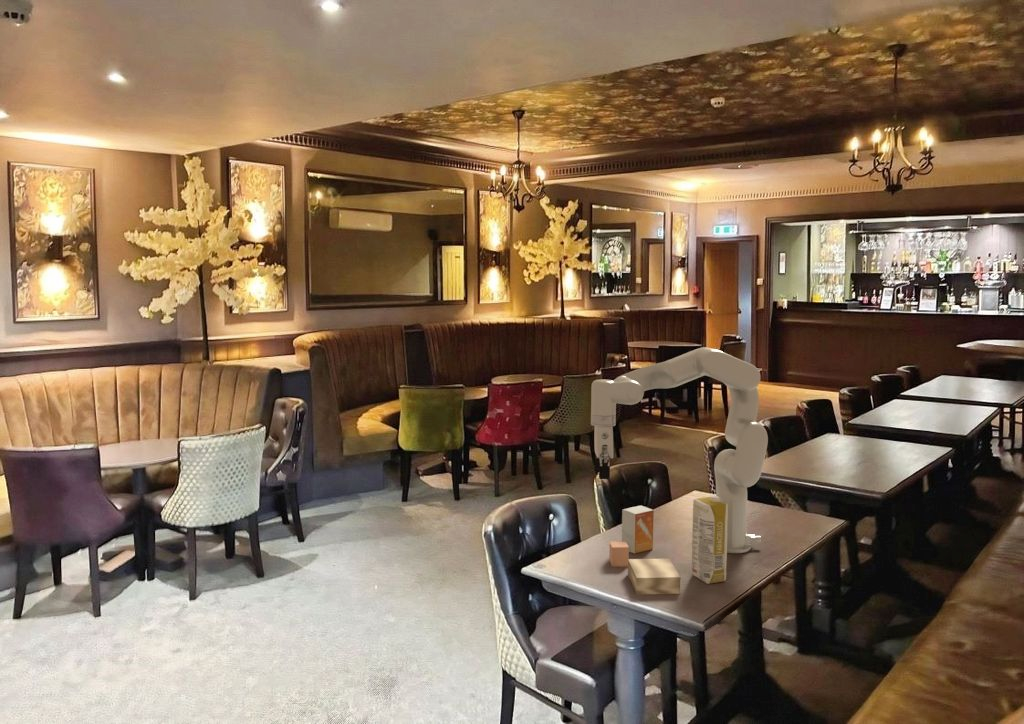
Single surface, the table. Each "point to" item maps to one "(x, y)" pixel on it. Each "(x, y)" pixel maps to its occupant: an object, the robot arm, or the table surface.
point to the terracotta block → (619, 553)
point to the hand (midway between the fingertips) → (602, 474)
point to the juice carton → (709, 539)
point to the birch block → (653, 576)
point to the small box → (638, 528)
